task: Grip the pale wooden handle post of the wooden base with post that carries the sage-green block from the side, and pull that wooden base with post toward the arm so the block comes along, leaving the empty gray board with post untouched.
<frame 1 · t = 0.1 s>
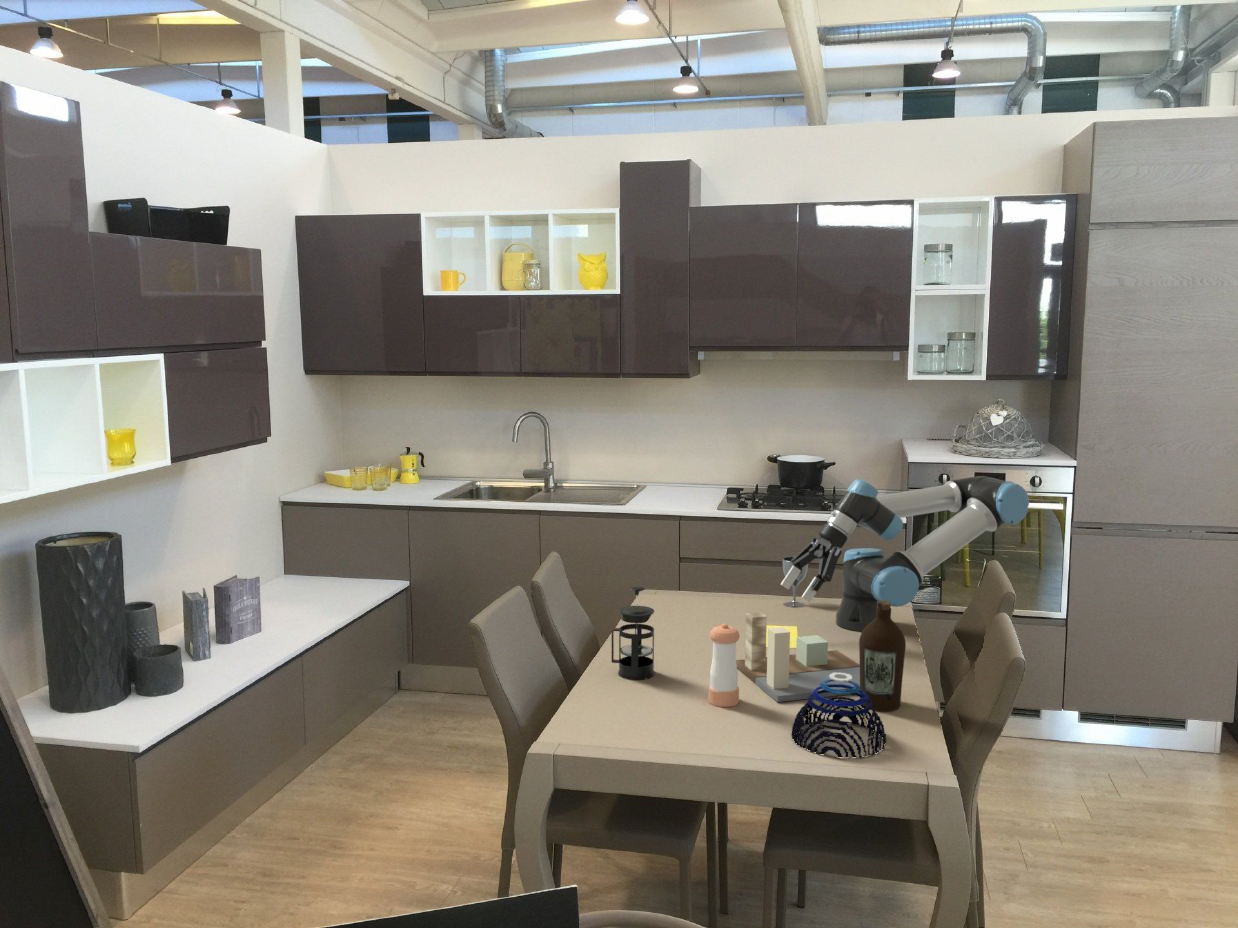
hand: (794, 593, 280), 15 cm above the table, fingers open, 13 cm apart
pepper shaker: (723, 701, 242), on the table
blue ringed dome: (838, 740, 220), on the table
french press: (634, 674, 260), on the table
wine glass: (794, 604, 324), on the table
sage block: (811, 661, 265), point 2 cm above the table, touching wooden base with post
gray board with post: (822, 656, 250), point 8 cm above the table, slide at 0.0 cm
wooden base with post: (798, 639, 263), point 8 cm above the table, slide at 0.0 cm, touching sage block
olive oil: (879, 705, 240), on the table
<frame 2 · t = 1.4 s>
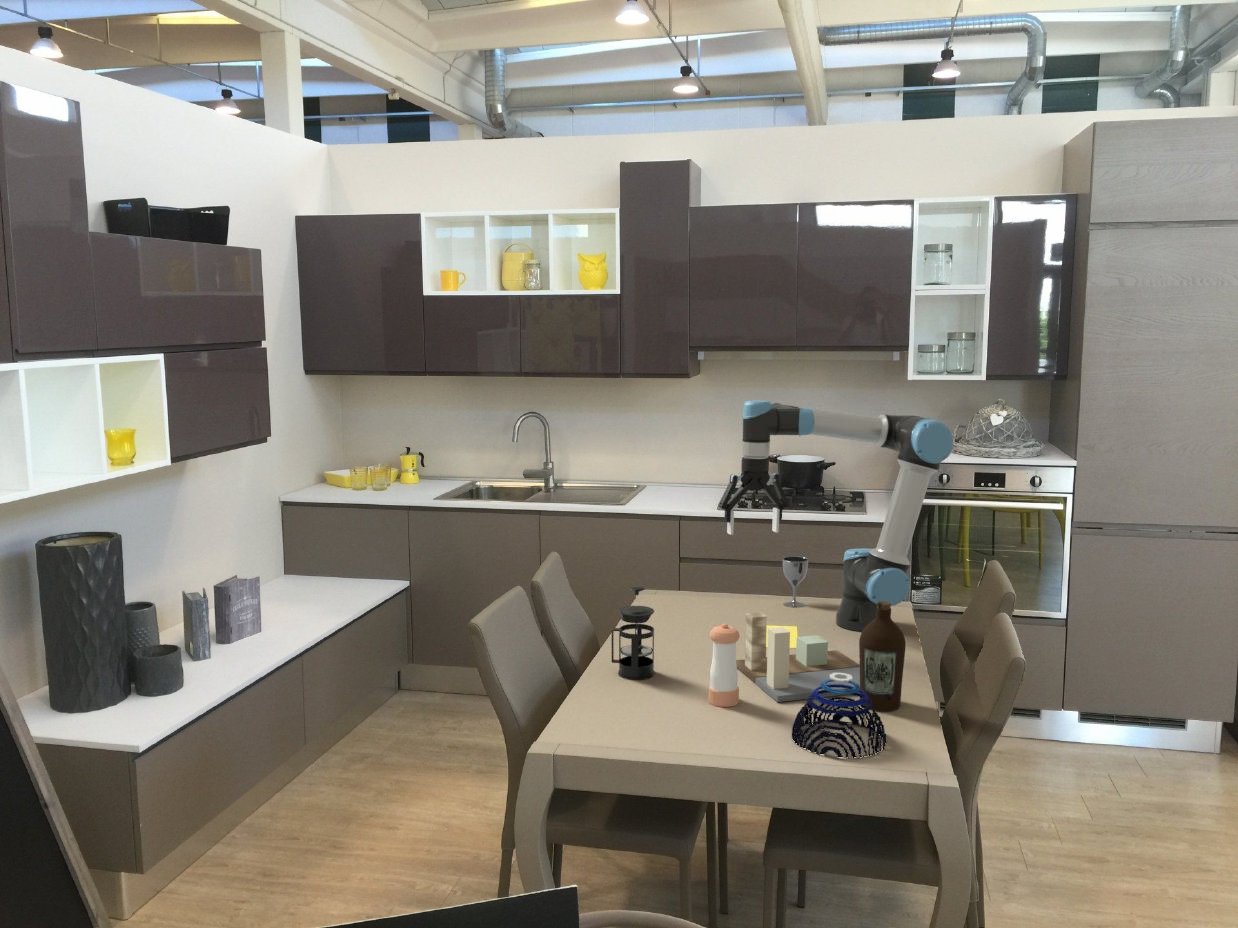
hand: (752, 532, 280), 32 cm above the table, fingers open, 13 cm apart
nothing on the table moved.
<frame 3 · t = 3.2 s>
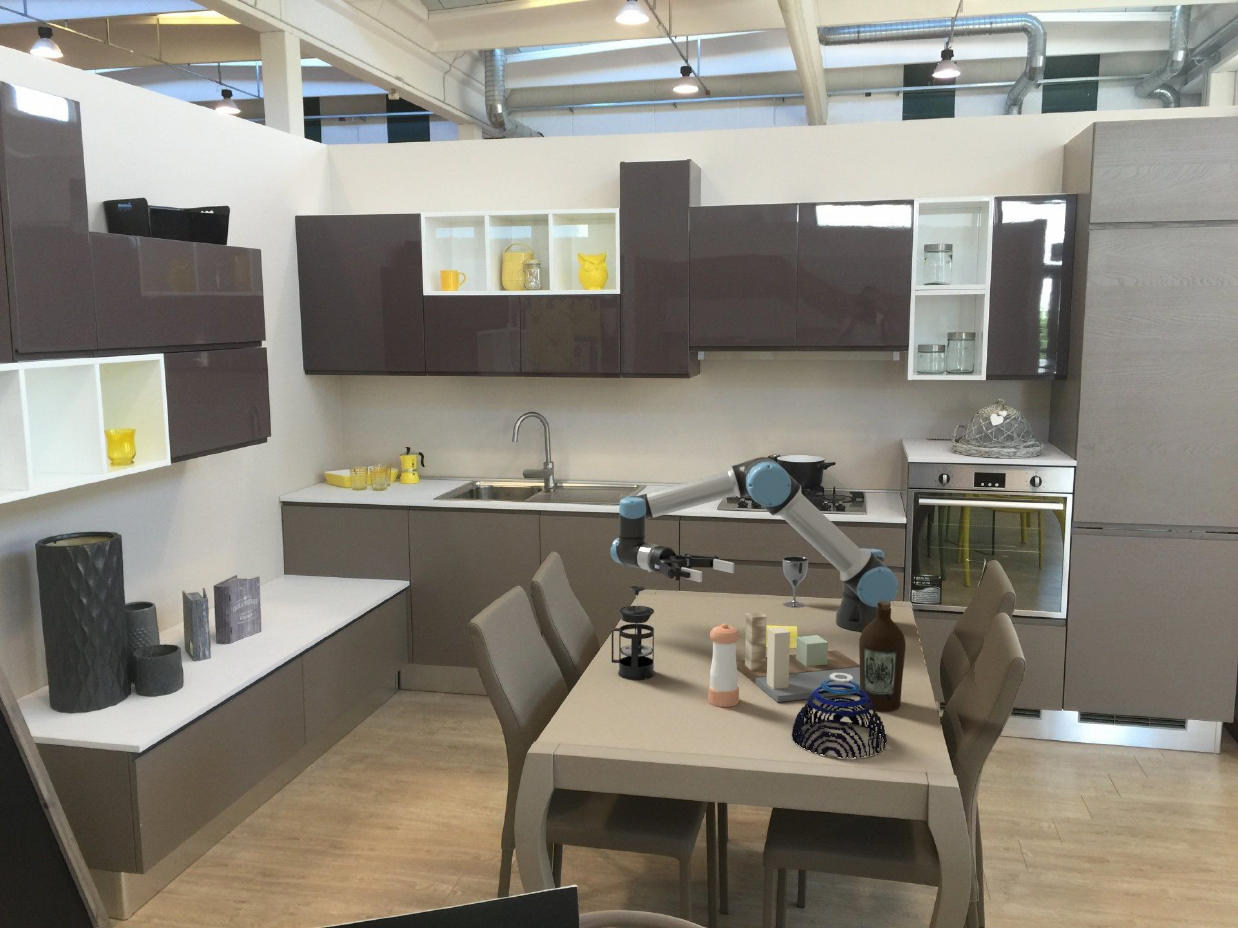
hand: (717, 572, 266), 24 cm above the table, fingers open, 13 cm apart
nothing on the table moved.
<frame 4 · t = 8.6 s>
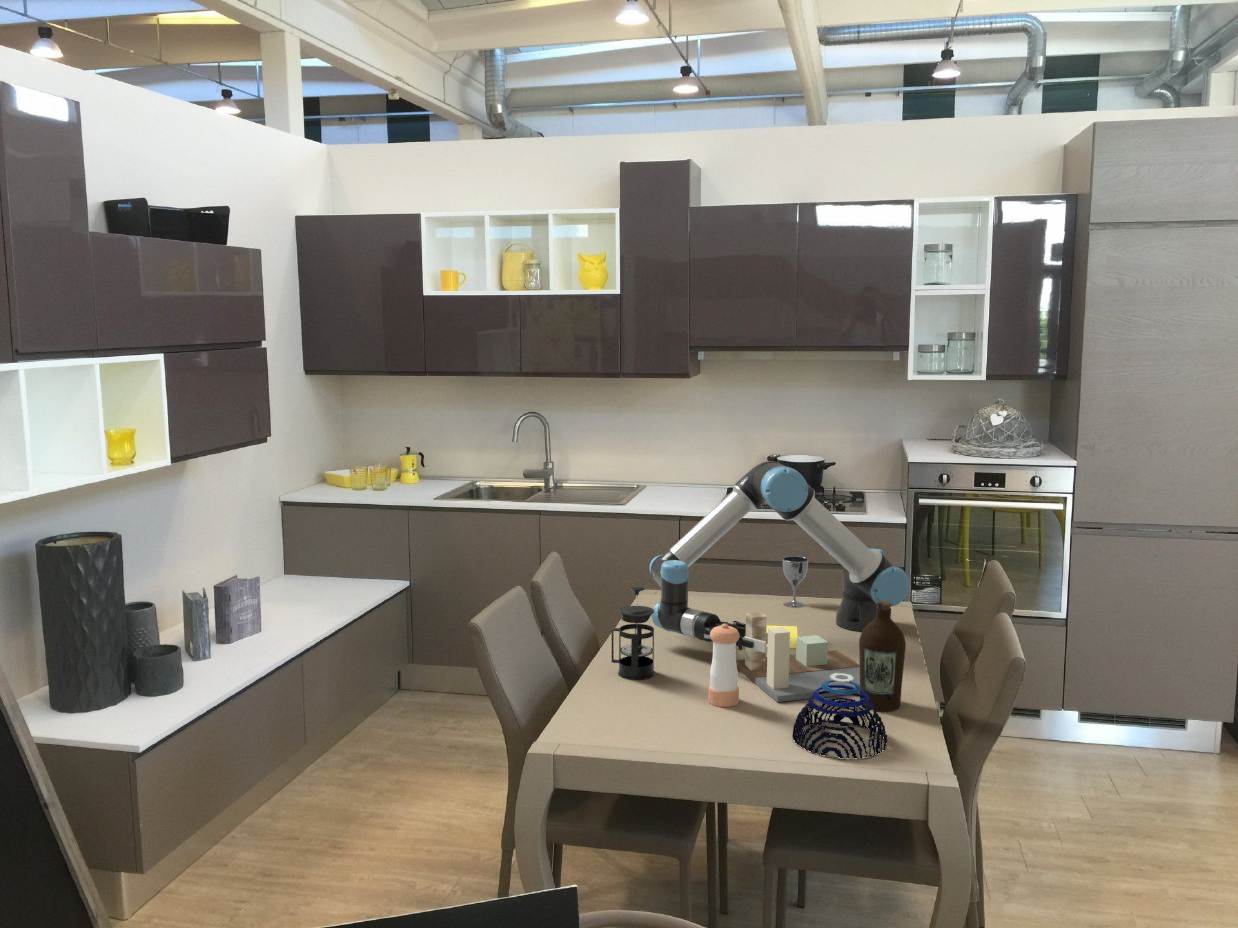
hand: (772, 644, 256), 9 cm above the table, fingers closed on wooden base with post, 5 cm apart
wooden base with post: (798, 639, 263), point 8 cm above the table, slide at 0.0 cm, touching gripper, sage block
everything else where it was.
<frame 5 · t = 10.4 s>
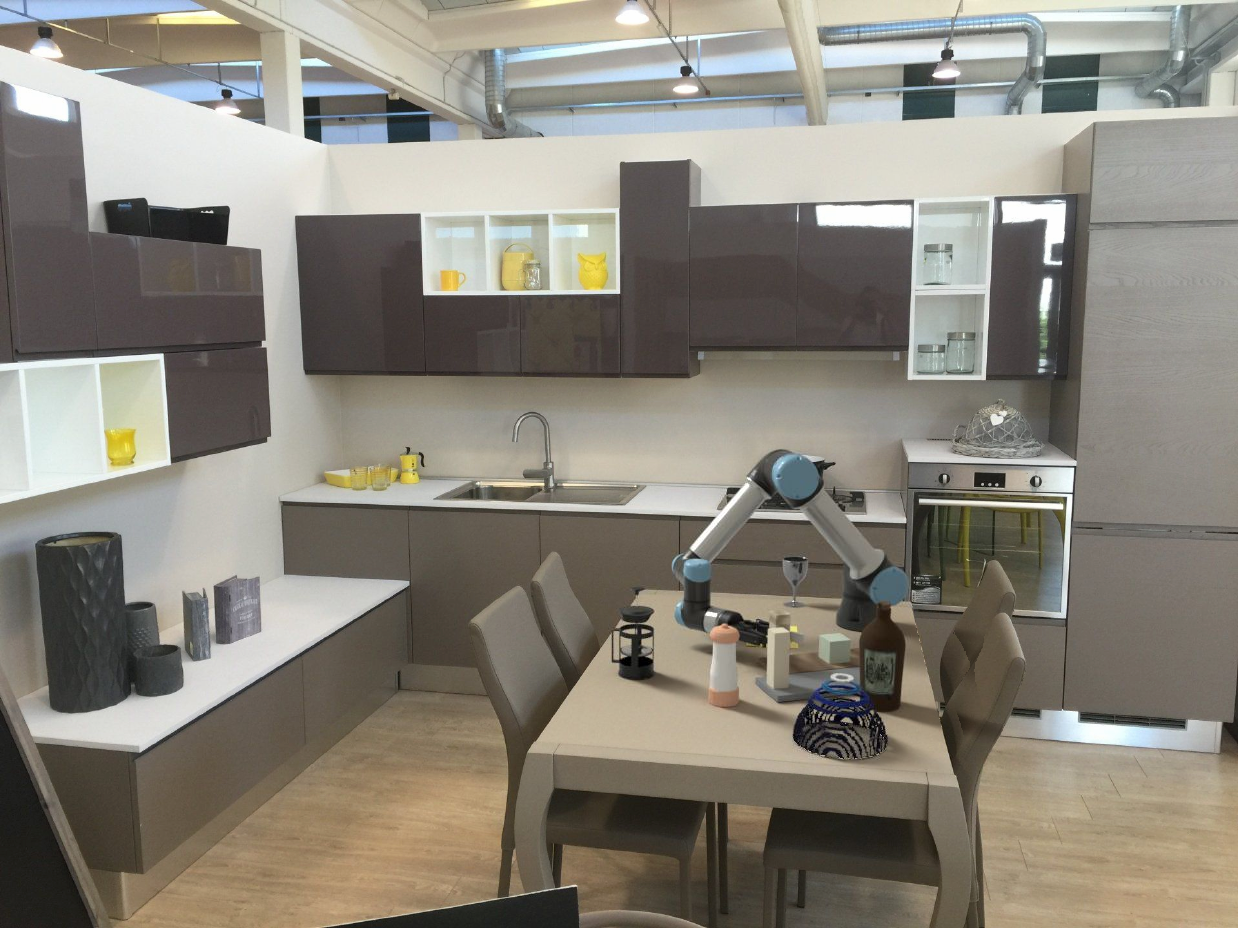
hand: (796, 642, 258), 9 cm above the table, fingers closed on wooden base with post, 5 cm apart
sage block: (834, 659, 267), point 2 cm above the table, touching wooden base with post
wooden base with post: (821, 637, 265), point 8 cm above the table, slide at 6.6 cm, touching gripper, sage block
everything else where it was.
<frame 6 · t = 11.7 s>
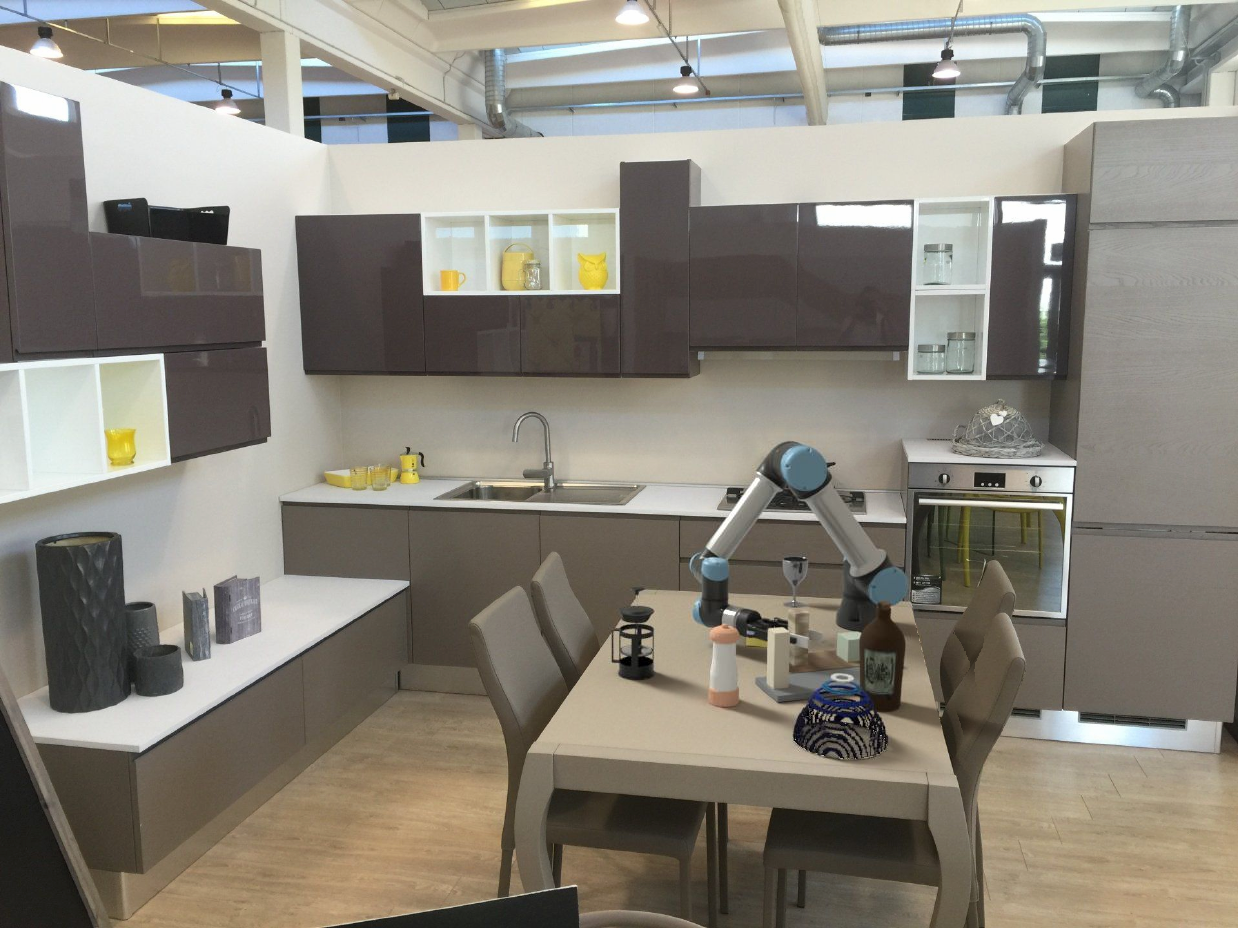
hand: (815, 640, 259), 9 cm above the table, fingers closed on wooden base with post, 5 cm apart
sage block: (852, 657, 268), point 2 cm above the table, touching wooden base with post
wooden base with post: (839, 635, 266), point 8 cm above the table, slide at 11.9 cm, touching gripper, sage block
everything else where it was.
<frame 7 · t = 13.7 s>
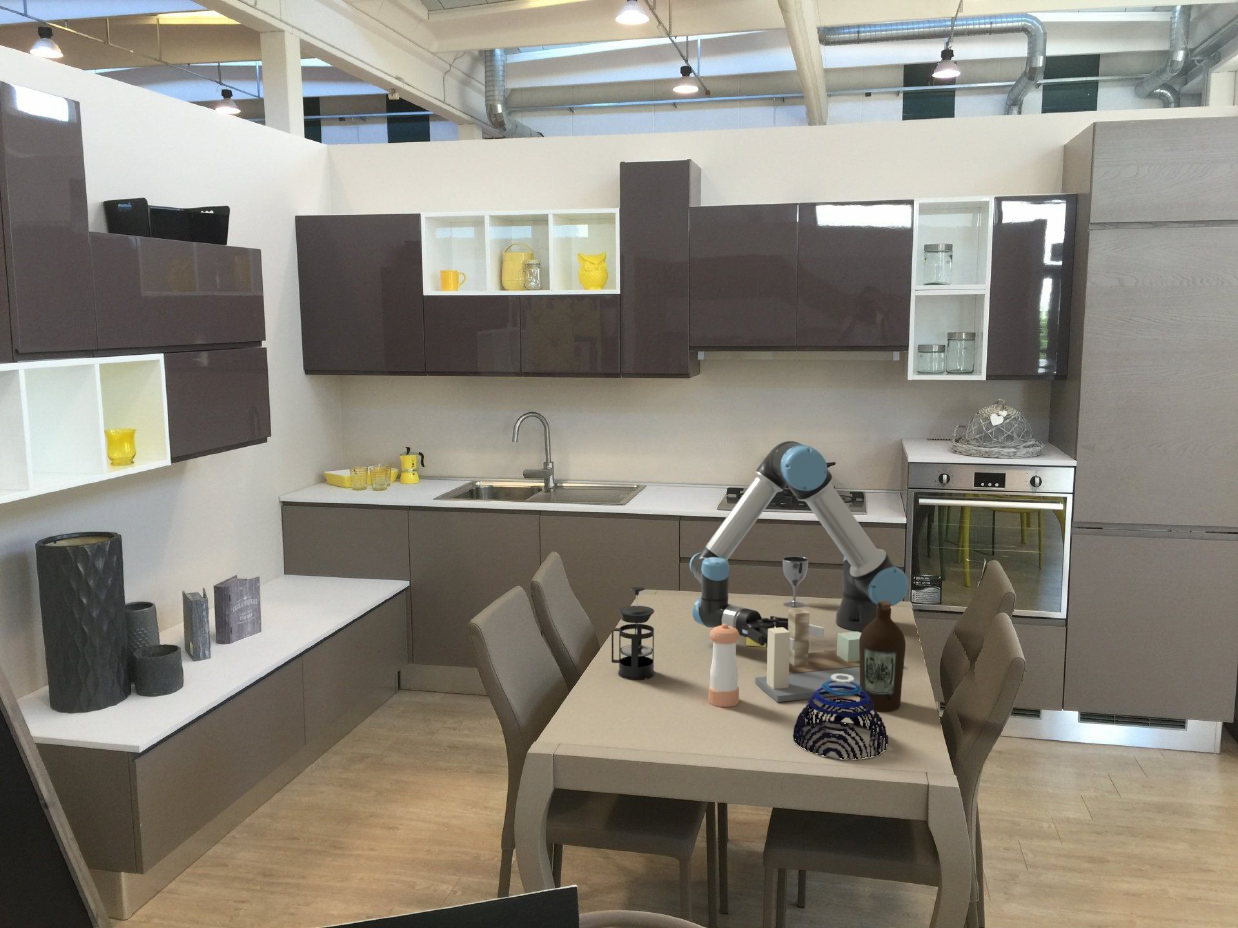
hand: (808, 638, 260), 9 cm above the table, fingers open, 13 cm apart
wooden base with post: (839, 635, 266), point 8 cm above the table, slide at 12.0 cm, touching sage block
everything else where it was.
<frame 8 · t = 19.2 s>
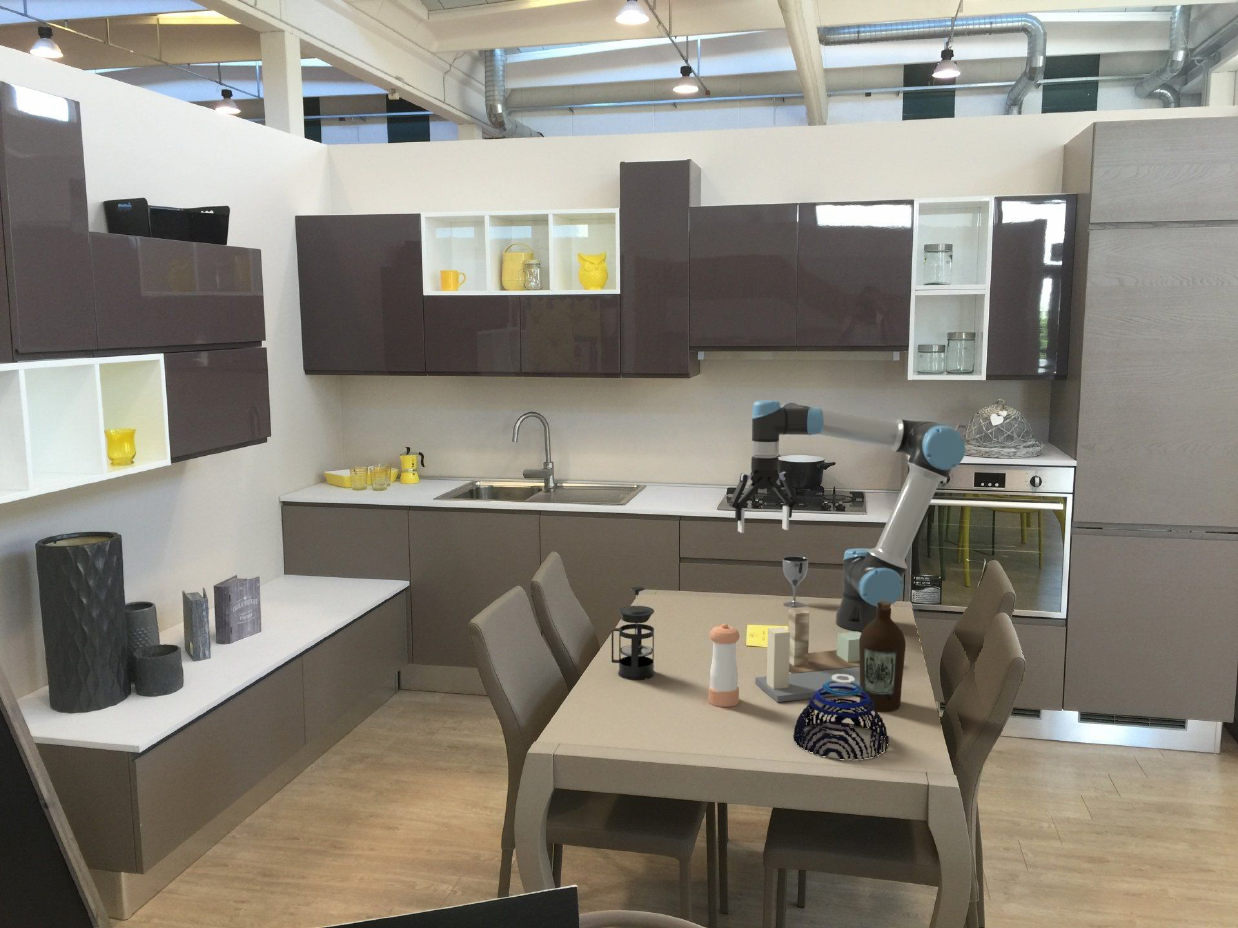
hand: (763, 530, 284), 32 cm above the table, fingers open, 13 cm apart
nothing on the table moved.
at the end: wooden base with post slide at 12.0 cm; sage block inside the target area (0.5 cm from its centre), point 1.7 cm above the table; gray board with post slide at 0.0 cm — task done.
